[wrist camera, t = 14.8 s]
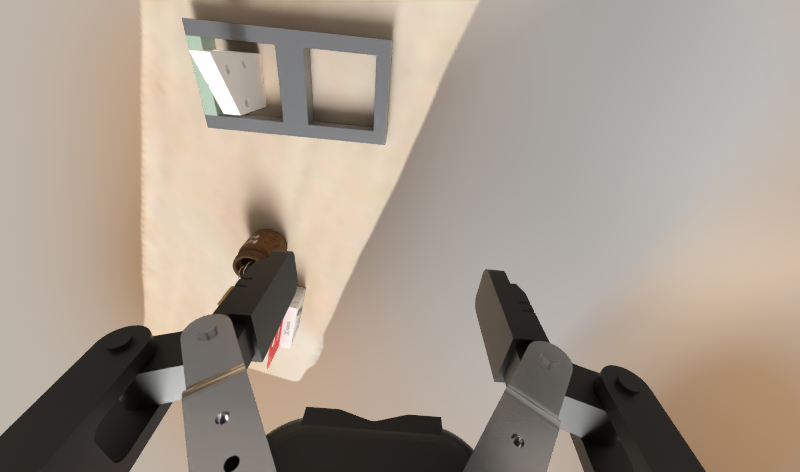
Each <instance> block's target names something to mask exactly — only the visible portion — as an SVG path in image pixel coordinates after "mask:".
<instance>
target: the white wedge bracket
mask: <svg viewBox="0 0 800 472" xmlns="http://www.w3.org/2000/svg"><path fill="white" fill-rule="evenodd" d="M189 52H190V53H191V55H192V57H193V59H194V61H195V63H196V64H197V66H198V68H199V70H200V72H201V73H202V75H203V77H204V79H205V81H206V82H207V83H208V84H209V85H210V86H209V88H210V90H211V92H212V93H213V95H214V97H215V99H216V101H217V102H218V104H219V106H220V108H221V110H222V112H223V113H224V114H232V115H243V114H246V113H249V112H252V111H255V110H258V109H261V108H264V107H267V104H266V97H265V90H264V82H263V75H262V67H261V60H260V54H259V53H249V52H240V51H230V50H213V51H205V50H189Z"/></svg>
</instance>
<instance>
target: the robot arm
mask: <svg viewBox="0 0 800 472" xmlns="http://www.w3.org/2000/svg"><path fill="white" fill-rule="evenodd" d="M296 290H297V273H296V264H295V256H294V253H293V252H291V251H280V250H273V251H272V252H271V254H270V255H269V256H268V258H267V259H266V261H258V262H257V263H255V264H254V265H252V266H251V267H249V268H248V269H247V270H246V271H245V273H244V274H243V275H242V276H241V279H239V280H238V282H237V283H236V284H235V287H233V288H232V289H231V291H230V292H229V293H228V295H227V296H226V297H225V299H224V300H223V301H222V302H221V304H220V305H219V306H218V308H217V309H216V310H215V312H214V313H213V314H211V315H207V316H203V317H201V318H199V319H196V320H195V321H193V322H192V323H190V324H189V325H188V326H187V327H186V328H185V329H184V330H183V331H181V332H176V333H170V334H164V335H158V336H152V334H151V332H150V330H149V329H148V328H147V327H144V326H139V325H137V326H128V327H124V328H121V329H118V330H116V331H113V332H111V333H109V334H107V335H106V336H104V337H102V338H101V339H100V340H98V341H97V342H96V343H95V344H94V345H93V346H92V347H91V348H90V349H89V350H88V351H87V352H86V353H85V354H84V355H83V356H82V357H81V358H80V359H79V360H78V361H77V362H76V363H75V364H74V365H73V366H72V367H71V368H70V369H69V370H68V371H66V372H65V373H64V374H63V375H62V376H61V377H60V378H59V379H58V380H57V381H56V382H55V383H54V384H53V385H52V386H51V387H50V388H49V389H48V390H47V391H46V392H45V393H44V394H43V395H42V396H41V397H40V398H39V399H38V400H37V401H36V402H35V403H34V404H33V405H32V406H31V407H30V408H29V409H28V410H27V411H26V412H25V413H23V414H22V416H21V417H20V418H18V419H17V420H16V421H15V422H14V423H13V424H12V425H11V426H10V427H9V428H8V429H7V430H6V431H5V432H4V433H3V434H2V435H1V436H0V472H129V471H130V470H131V468H132V467H133V465H134V463H135V462H136V460H137V458H138V457H139V455H140V454H141V452H142V450H143V449H144V447H145V446H146V444H147V442H148V441H149V439H150V438H151V436H152V434H153V433H154V431H155V430H156V428H157V426H158V425H159V423H160V422H161V420H162V418H163V417H164V415H165V414H166V412H167V410H168V409H169V407H170V405H171V404H172V402H173V401H177V400H182V408H183V417H184V428H185V437H186V447H187V458H188V466H189V467H188V468H189V472H547V468H548V465H549V462H550V459H551V455H552V452H553V449H554V445H555V442H556V439H557V435H558V431H559V428H560V429H562V430H565V431H567V432H569V433H570V435H571V437H572V440H573V443H574V446H575V448H576V451H577V453H578V456H579V459H580V462H581V464H582V467H583V470H584V472H706V471H705V470H704V468H703V467H702V466H701V464H700V462H699V461H698V459H697V458H696V456H695V455H694V453H693V452H692V450H691V449H690V447H689V446H688V444H687V443H686V442H685V440H684V439H683V437H682V436H681V434H680V432H679V431H678V430H677V428H676V427H675V425H674V424H673V422H672V421H671V419H670V418H669V416H668V415H667V413H666V412H665V410H664V409H663V407H662V406H661V404H660V403H659V401H658V400H657V398H656V397H655V395H654V394H653V392H652V391H651V389H650V388H649V387H648V385H647V384H646V383H645V382H644V381H643V380H642V379H641V378H639V377H638V376H637V375H635V374H634V373H632V372H630V371H628V370H627V369H624V368H622V367H618V366H613V365H610V366H606V367H604V368H603V369H602V371H601V372H600V373H597V372H594V371H591V370H589V369H586V368H583V367H580V366H577V365H575V364H573V363H572V362H571V360H570V359H569V357H568V356H567V355H566V354H565V352H563V351H562V350H561V349H560V348H558V347H557V346H555V345H553V344H551V343H550V342H549V340H548V338H547V336H546V334H545V332H544V330H543V328H542V326H541V325H540V322H539V320H538V318H537V316H536V314H535V313H534V310H533V308H532V306H531V305H530V302H529V300H528V298H527V296H526V294H525V293H524V292H523V291H522V290H521V289H520V288H519V287H518V286H517V285H516V284H510V282H509V280H508V278H507V275H506V273H505V272H504V271H498V270H487V269H486V270H485V271H484V272H483V275H482V279H481V282H480V285H479V289H478V292H477V295H476V302H475V308H476V313H477V317H478V321H479V325H480V329H481V332H482V336H483V340H484V343H485V347H486V351H487V355H488V358H489V363H490V366H491V370H492V374H493V378H494V381H495V382H505V383H506V389H505V391H504V393H503V395H502V397H501V399H500V401H499V403H498V405H497V407H496V409H495V410H494V413H493V414H492V416H491V418H490V420H489V422H488V424H487V426H486V428H485V430H484V432H483V434H482V436H481V438H480V440H479V441H478V443H477V445H476V447H475V449H474V450H473V449H472V448H471V447H470V446H469V445H468V444H467V443H466V442H465V441H463V440H462V439H461V438H459V437H458V436H456V435H455V434H453V433H451V432H449V431H447V430H445V429H442V422H441V417H432V416H418V415H404V416H399V417H395V418H389V419H385V420H380V421H370V420H367V419H364V418H361V417H359V416H356V415H353V414H351V413H348V412H345V411H343V410H339V409H327V408H314V407H306V410H305V413H304V416H303V418H301V419H297V420H294V421H291V422H288V423H286V424H284V425H281V426H280V427H278V428H277V429H274V430H273V431H271V432H270V433H269V434H267V435H266V434H265V431H264V428H263V424H262V421H261V418H260V414H259V411H258V408H257V405H256V401H255V398H254V394H253V391H252V388H251V384H250V381H249V378H248V374H247V371H246V370H247V368H248V366H249V365H250V363H251V361H255V362H263V360H264V358H265V356H266V354H267V352H268V350H269V348H270V345H271V343H272V341H273V339H274V337H275V335H276V333H277V331H278V329H279V327H280V325H281V323H282V321H283V319H284V317H285V315H286V312H287V310H288V308H289V306H290V304H291V302H292V300H293V298H294V296H295V293H296Z"/></svg>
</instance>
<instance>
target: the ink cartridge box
mask: <svg viewBox="0 0 800 472" xmlns="http://www.w3.org/2000/svg"><path fill="white" fill-rule="evenodd" d="M305 291H306V288H304V287H299V286H297V290H296V293H295V296H294V298H293V300H292V302H291V304H290V306H289V308H288V310H287V312H286V315H285V317H284V319H283V321H282V323H281V325H280V327H279V329H278V331H277V333H276V335H275V340H274V339H273V340H274V345H273V347H272V343H273V341H272V343H271V345H270V348H269V354H268V363H267V369H268V367H269V365H270V363H271V361H272V359H273V357H274V355H275V353H276V351H277V349H278V347H279V346H280V347H285V348H289V349H290V348H291V345H292V343H293V340H294V337H295V335H296V332H297V330H298V327H299V322H300V317H301V311H302V307H303V301H304V296H305Z"/></svg>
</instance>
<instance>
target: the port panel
mask: <svg viewBox="0 0 800 472" xmlns="http://www.w3.org/2000/svg"><path fill="white" fill-rule="evenodd" d="M182 21H183V25H184V29H185V34H186V38H187V42H188V46H189V50H205V51H213V50H216V49H215V44H214V39H213V38H218V39H227V40H237V41H246V42H256V43H265V44H275V49H276V58H277V67H278V76H279V85H280V94H281V103H282V113H283V118H277V117H267V116H257V115H247V114H243V115H232V114H224V113H223V112H222V110H221V108H220V106H219V104H218V102H217V101H216V99H215V97H214V95H213V93H212V92H211V90H210V88H209V86H210V85H209V84H208V83H207V82H206V81H205V79H204V77H203V75H202V73H201V72H200V70H199V68H198V66H197V64H196V63H195V61H194V59H193V57H192V55H191V53H190V55H191V59H192V63H193V67H194V71H195V75H196V80H197V84H198V88H199V92H200V96H201V100H202V105H203V109H204V113H205V117H206V121H207V125H208V128H218V129H228V130H238V131H248V132H259V133H269V134H279V135H289V136H299V137H309V138H320V139H330V140H340V141H350V142H360V143H371V144H381V145H385V143H386V136H387V120H388V105H389V89H390V73H391V58H392V42H393V41H392V40H385V39H376V38H366V37H357V36H348V35H338V34H329V33H320V32H310V31H301V30H291V29H282V28H273V27H263V26H254V25H244V24H235V23H226V22H216V21H207V20H198V19H188V18H182ZM310 48H313V49H322V50H332V51H341V52H351V53H360V54H370V55H377V58H376V83H375V107H374V127H367V126H357V125H347V124H337V123H327V122H317V121H314V114H313V97H312V80H311V63H310Z"/></svg>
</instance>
